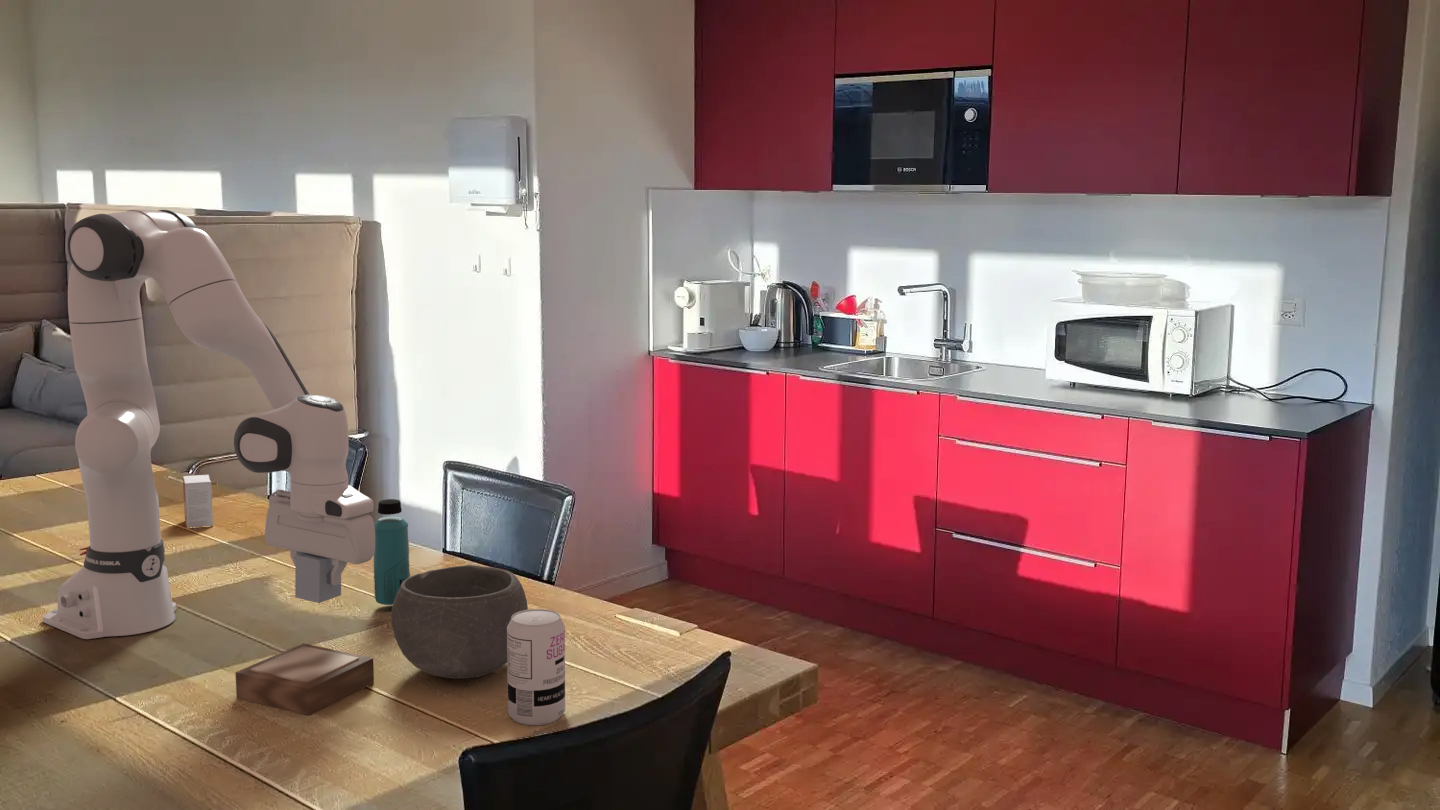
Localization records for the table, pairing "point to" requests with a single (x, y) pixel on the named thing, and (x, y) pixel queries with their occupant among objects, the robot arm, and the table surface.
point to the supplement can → (536, 666)
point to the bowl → (457, 619)
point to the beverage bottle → (390, 552)
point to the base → (304, 678)
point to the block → (314, 578)
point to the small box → (197, 501)
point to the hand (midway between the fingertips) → (318, 580)
